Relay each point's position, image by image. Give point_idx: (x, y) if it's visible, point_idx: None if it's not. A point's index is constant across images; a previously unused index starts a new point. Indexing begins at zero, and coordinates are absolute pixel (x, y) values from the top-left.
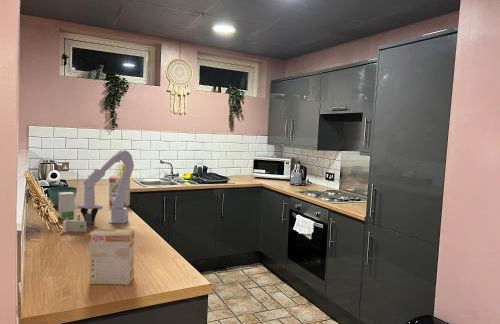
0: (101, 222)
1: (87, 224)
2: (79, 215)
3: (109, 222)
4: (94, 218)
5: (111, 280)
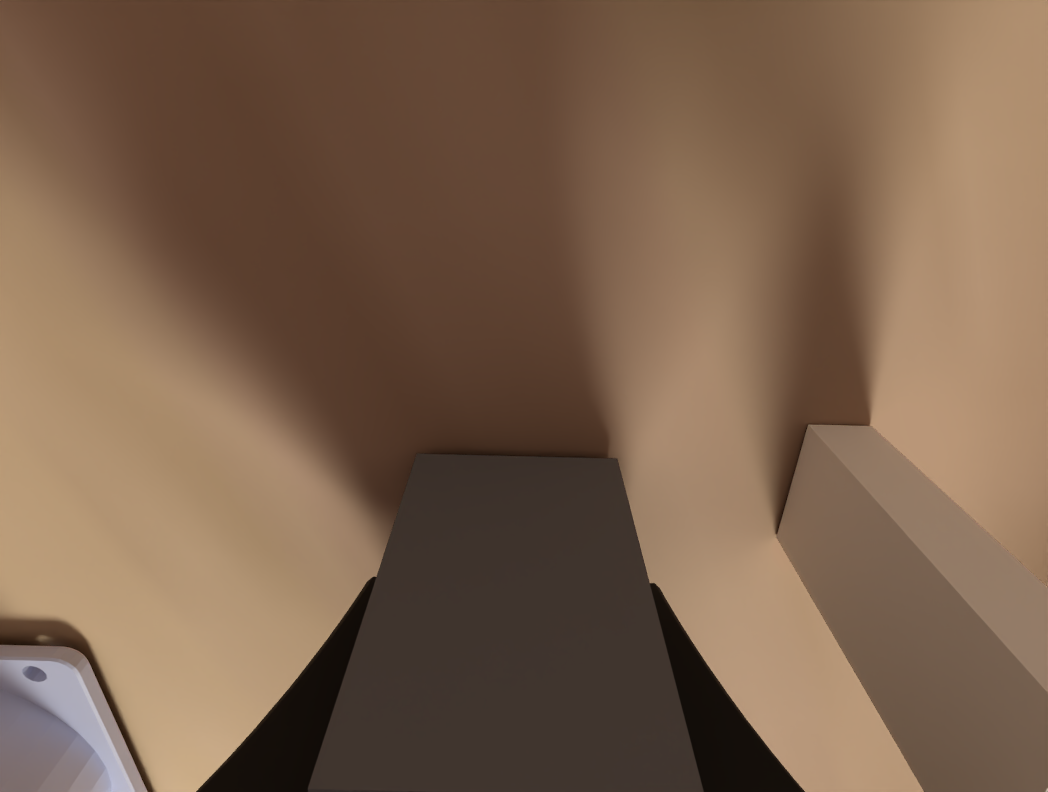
0: None
1: (528, 461)
2: (952, 778)
3: (44, 655)
4: None
5: None
